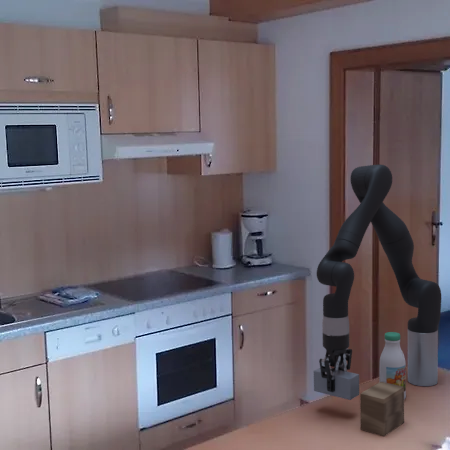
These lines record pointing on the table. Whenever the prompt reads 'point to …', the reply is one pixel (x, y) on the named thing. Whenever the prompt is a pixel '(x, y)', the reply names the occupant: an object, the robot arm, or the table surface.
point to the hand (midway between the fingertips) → (336, 388)
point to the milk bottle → (393, 362)
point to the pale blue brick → (338, 384)
